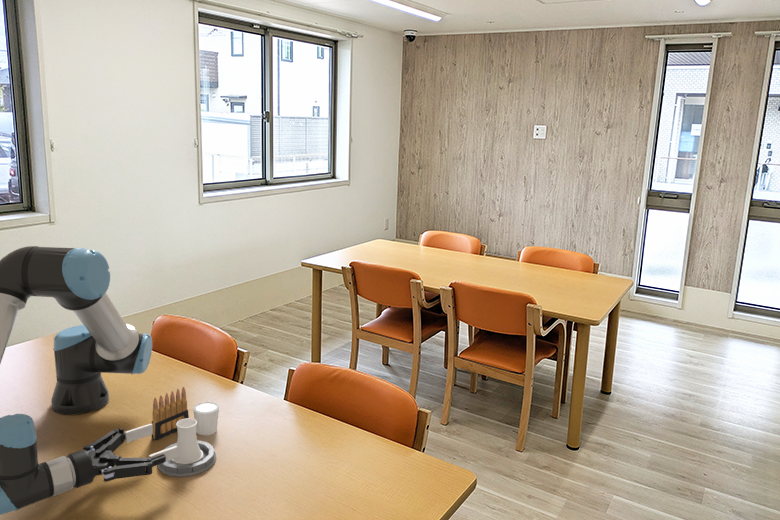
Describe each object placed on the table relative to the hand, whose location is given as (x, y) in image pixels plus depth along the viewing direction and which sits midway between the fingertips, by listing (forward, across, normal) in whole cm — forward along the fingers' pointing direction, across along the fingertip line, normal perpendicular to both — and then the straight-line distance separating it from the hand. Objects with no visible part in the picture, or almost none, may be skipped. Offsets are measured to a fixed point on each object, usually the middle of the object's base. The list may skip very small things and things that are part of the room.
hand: (164, 439), depth 146 cm
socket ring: (+6, 0, -8) cm, 10 cm away
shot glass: (+17, -11, -8) cm, 22 cm away
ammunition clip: (+9, -16, -8) cm, 20 cm away
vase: (+6, 0, -8) cm, 10 cm away
